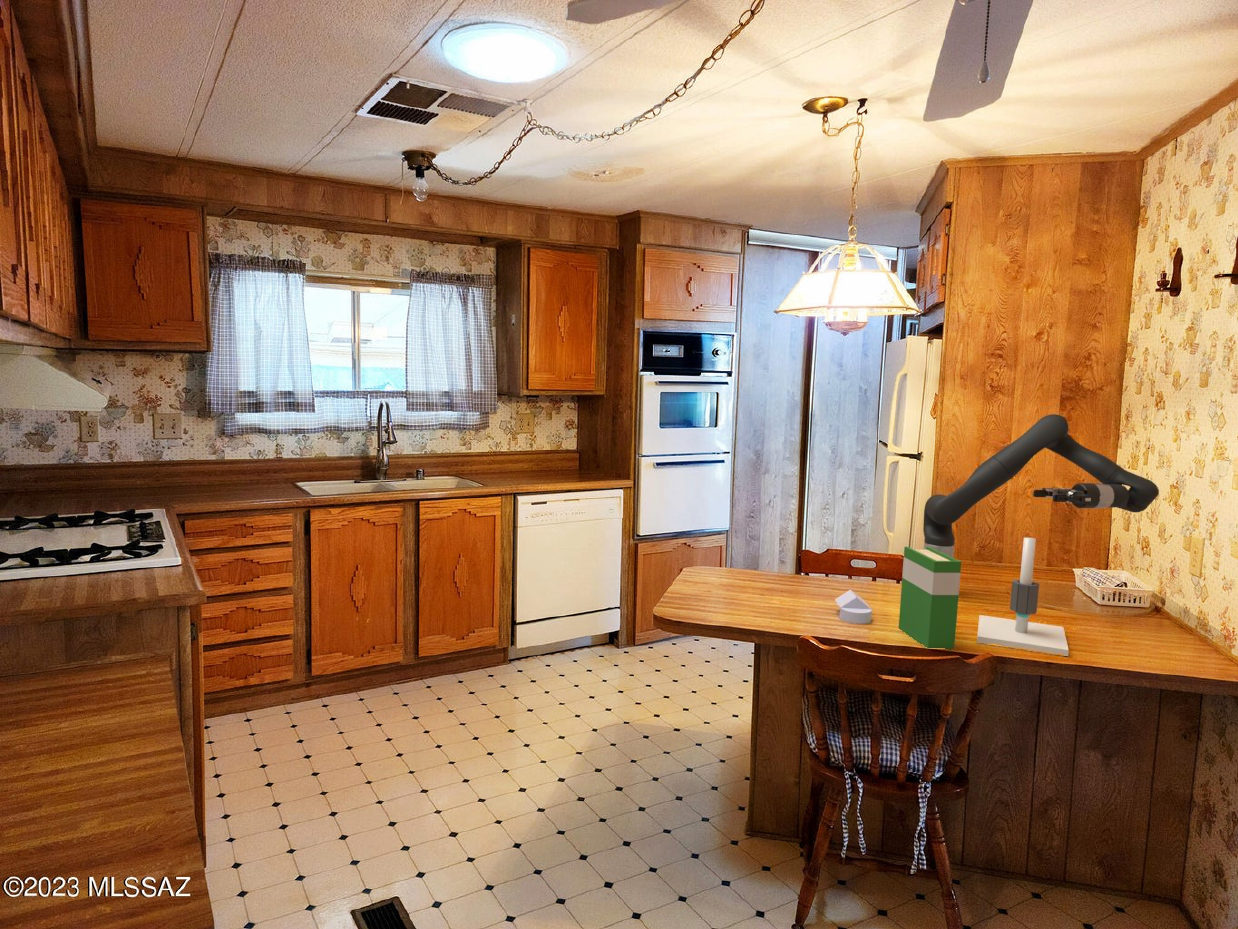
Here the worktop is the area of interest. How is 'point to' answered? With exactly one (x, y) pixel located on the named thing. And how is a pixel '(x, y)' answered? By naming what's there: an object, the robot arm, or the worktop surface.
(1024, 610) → the collar
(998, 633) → the post board
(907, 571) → the hardback book
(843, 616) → the wedge on round base
